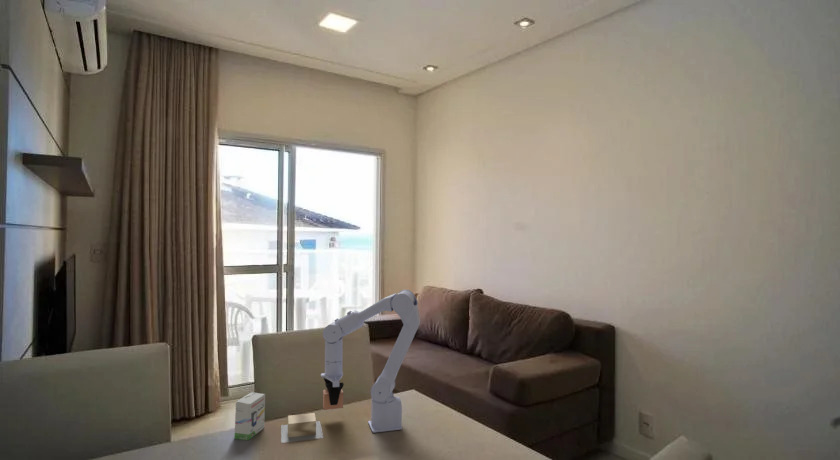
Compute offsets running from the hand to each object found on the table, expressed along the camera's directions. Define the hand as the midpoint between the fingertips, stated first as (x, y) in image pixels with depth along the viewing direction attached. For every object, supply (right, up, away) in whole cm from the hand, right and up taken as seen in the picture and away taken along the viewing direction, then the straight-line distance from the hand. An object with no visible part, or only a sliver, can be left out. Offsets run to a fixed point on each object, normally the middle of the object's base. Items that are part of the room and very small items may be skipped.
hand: (333, 401), depth 145 cm
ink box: (-23, -7, -10) cm, 26 cm away
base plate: (-8, -7, -9) cm, 14 cm away
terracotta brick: (0, -2, 0) cm, 2 cm away
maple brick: (-8, -6, -9) cm, 13 cm away
